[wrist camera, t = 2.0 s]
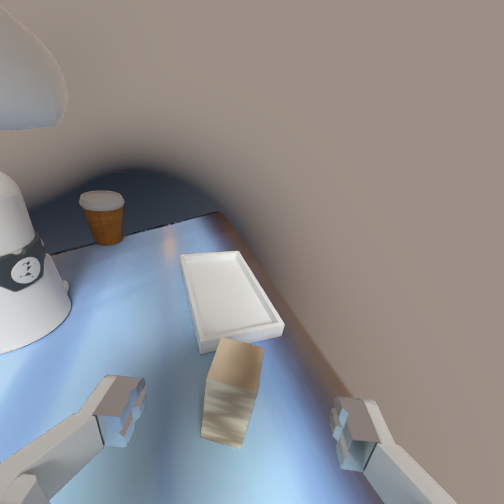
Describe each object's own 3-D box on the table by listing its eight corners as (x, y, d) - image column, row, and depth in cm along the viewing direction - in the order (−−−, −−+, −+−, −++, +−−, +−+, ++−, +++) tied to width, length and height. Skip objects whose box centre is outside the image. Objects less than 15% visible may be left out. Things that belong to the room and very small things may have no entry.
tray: (179, 264, 58) (179, 254, 56) (237, 260, 64) (238, 250, 62) (199, 354, 38) (200, 342, 36) (281, 336, 43) (284, 324, 42)
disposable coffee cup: (106, 229, 67) (99, 187, 61) (136, 236, 66) (132, 195, 60) (78, 243, 59) (67, 197, 53) (112, 251, 58) (104, 205, 52)
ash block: (200, 437, 28) (206, 378, 22) (213, 395, 32) (221, 336, 27) (240, 448, 28) (257, 391, 22) (248, 405, 32) (264, 347, 26)
